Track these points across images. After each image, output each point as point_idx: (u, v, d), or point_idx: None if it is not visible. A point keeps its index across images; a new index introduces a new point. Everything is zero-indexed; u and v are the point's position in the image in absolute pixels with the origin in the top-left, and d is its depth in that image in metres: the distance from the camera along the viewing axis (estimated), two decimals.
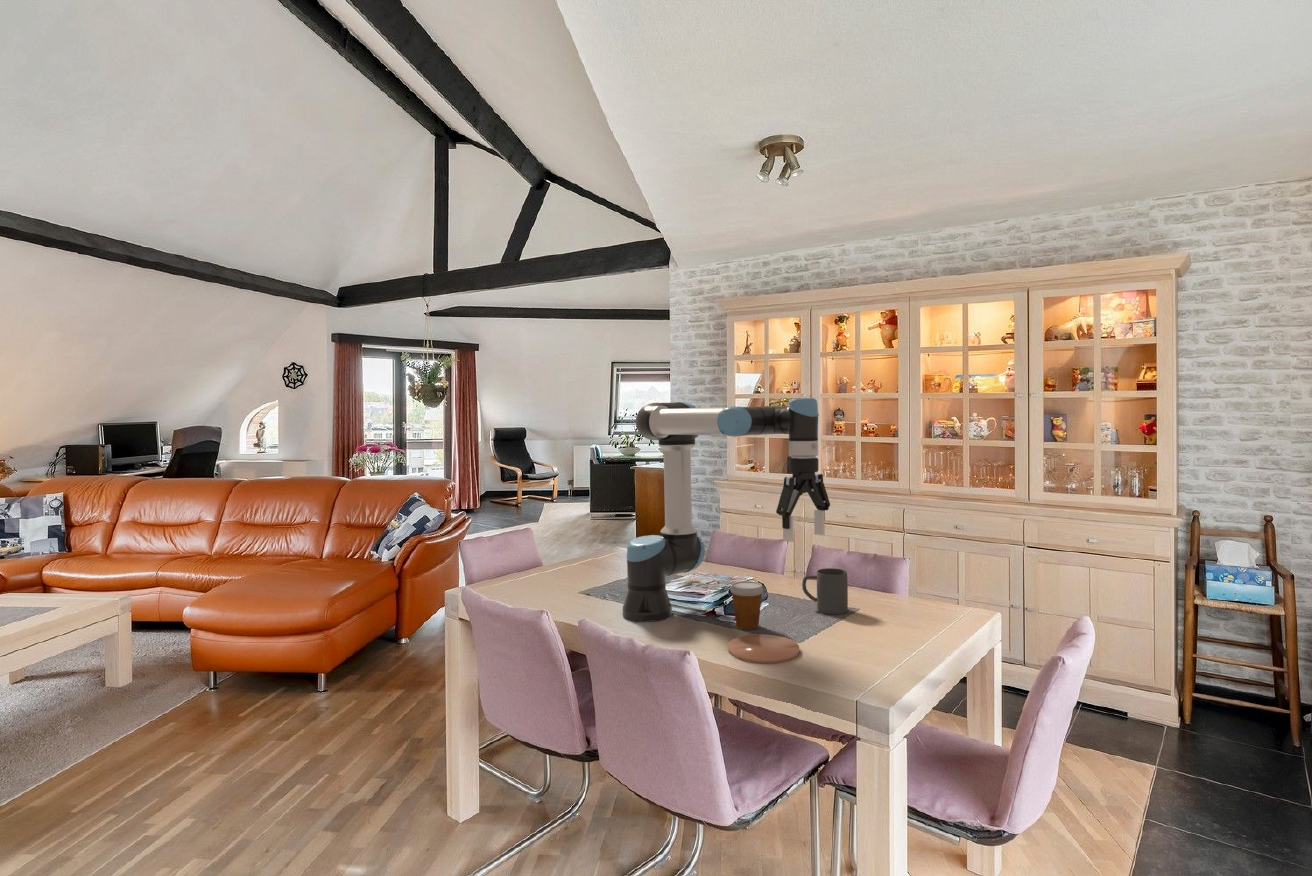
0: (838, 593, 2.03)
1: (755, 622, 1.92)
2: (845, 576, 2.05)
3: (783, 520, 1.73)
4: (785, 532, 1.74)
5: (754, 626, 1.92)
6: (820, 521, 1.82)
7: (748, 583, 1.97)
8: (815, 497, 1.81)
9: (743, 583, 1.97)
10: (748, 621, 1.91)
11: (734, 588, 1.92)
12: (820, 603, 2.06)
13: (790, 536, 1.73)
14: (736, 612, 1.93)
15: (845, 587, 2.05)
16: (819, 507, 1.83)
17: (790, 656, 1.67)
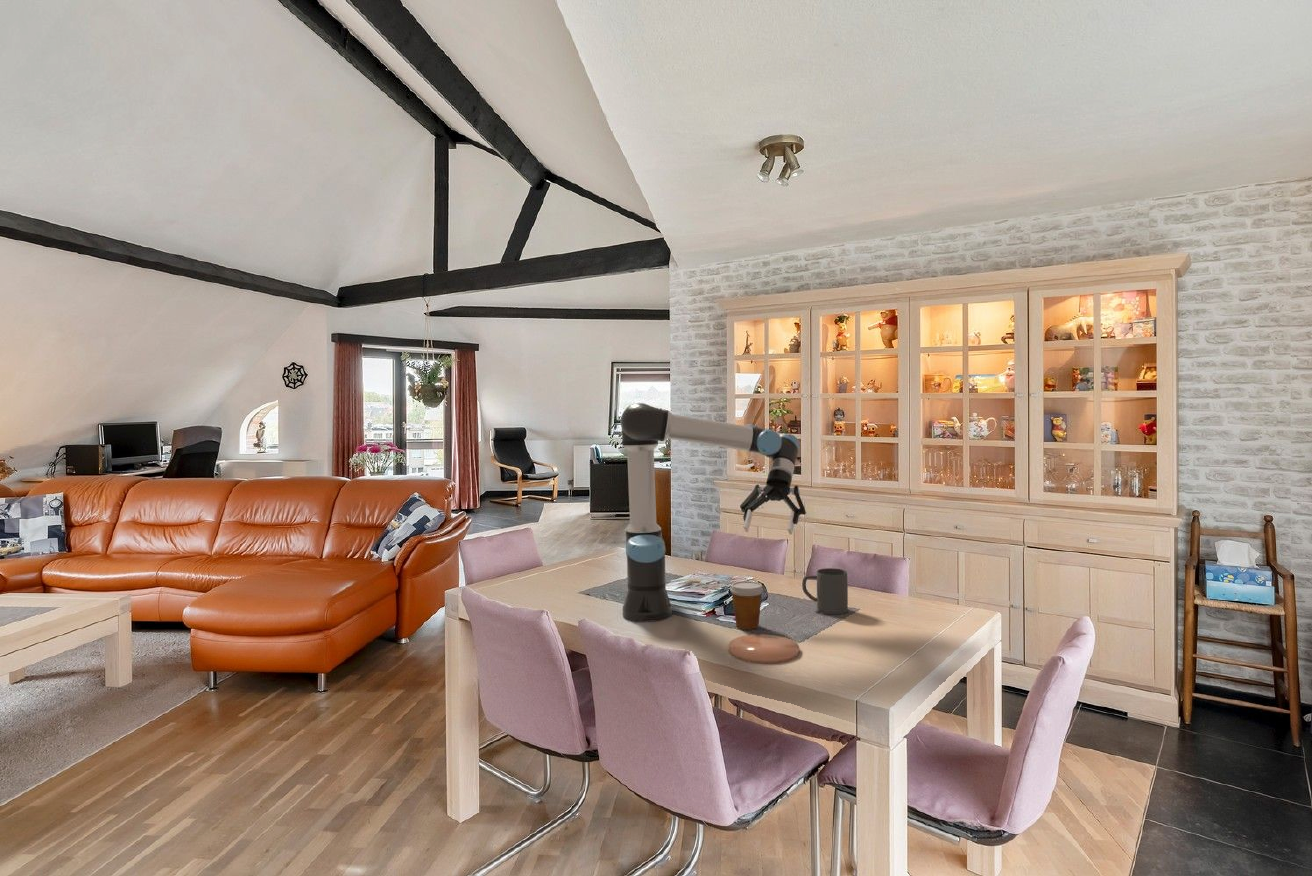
0: (838, 593, 2.03)
1: (755, 622, 1.92)
2: (845, 576, 2.05)
3: (797, 516, 2.03)
4: (792, 524, 2.01)
5: (754, 626, 1.92)
6: (749, 521, 2.09)
7: (748, 583, 1.97)
8: (760, 503, 2.12)
9: (743, 583, 1.97)
10: (748, 621, 1.91)
11: (734, 588, 1.92)
12: (820, 603, 2.06)
13: (792, 529, 2.02)
14: (736, 612, 1.93)
15: (845, 587, 2.05)
16: (749, 509, 2.11)
17: (790, 656, 1.67)
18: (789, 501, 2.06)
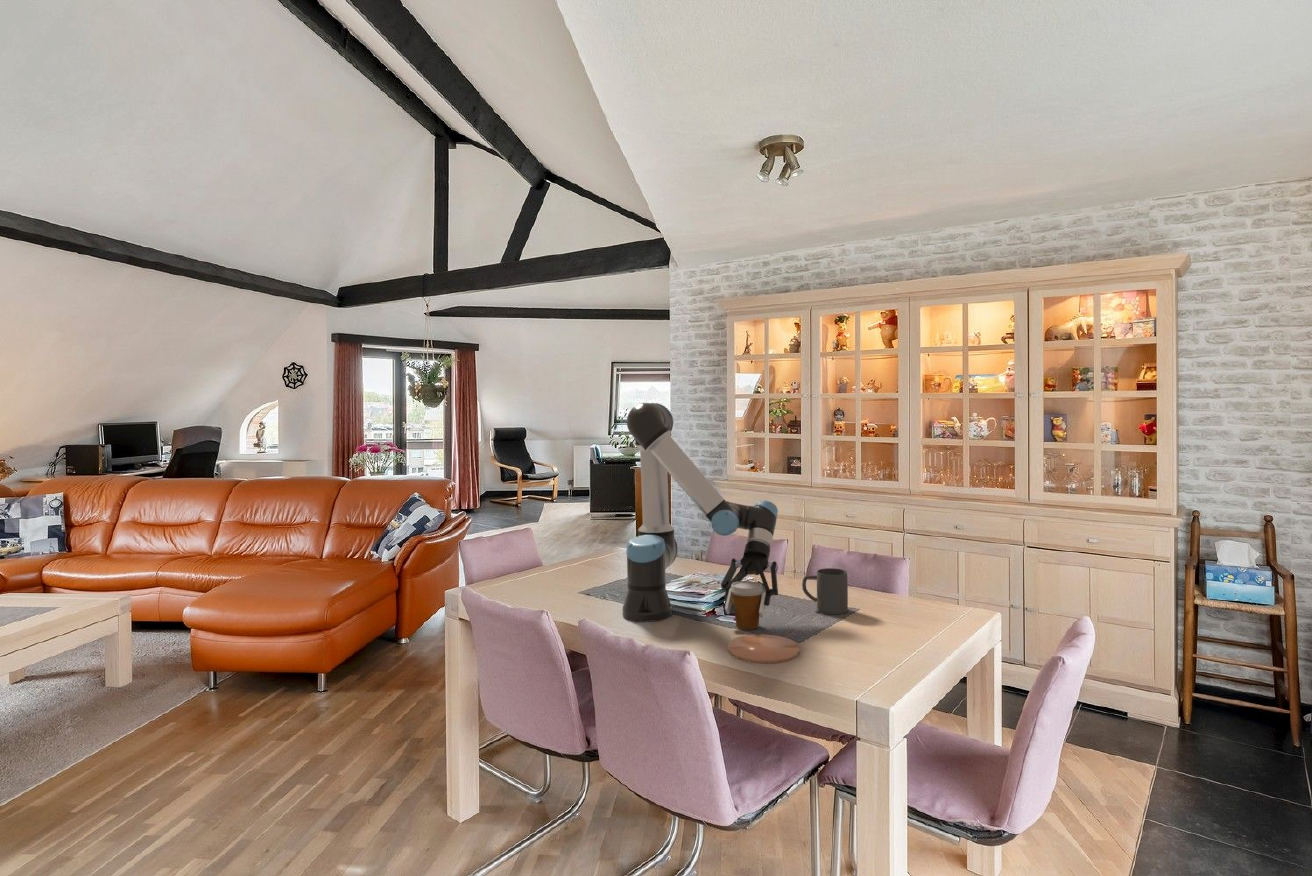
0: (838, 593, 2.03)
1: (755, 622, 1.92)
2: (845, 576, 2.05)
3: (769, 597, 1.92)
4: (763, 606, 1.90)
5: (754, 626, 1.92)
6: (731, 601, 1.96)
7: (748, 583, 1.97)
8: (740, 579, 2.00)
9: (743, 583, 1.97)
10: (748, 621, 1.91)
11: (734, 588, 1.92)
12: (820, 603, 2.06)
13: None
14: (736, 612, 1.93)
15: (845, 587, 2.05)
16: None
17: (790, 656, 1.67)
18: (763, 579, 1.96)
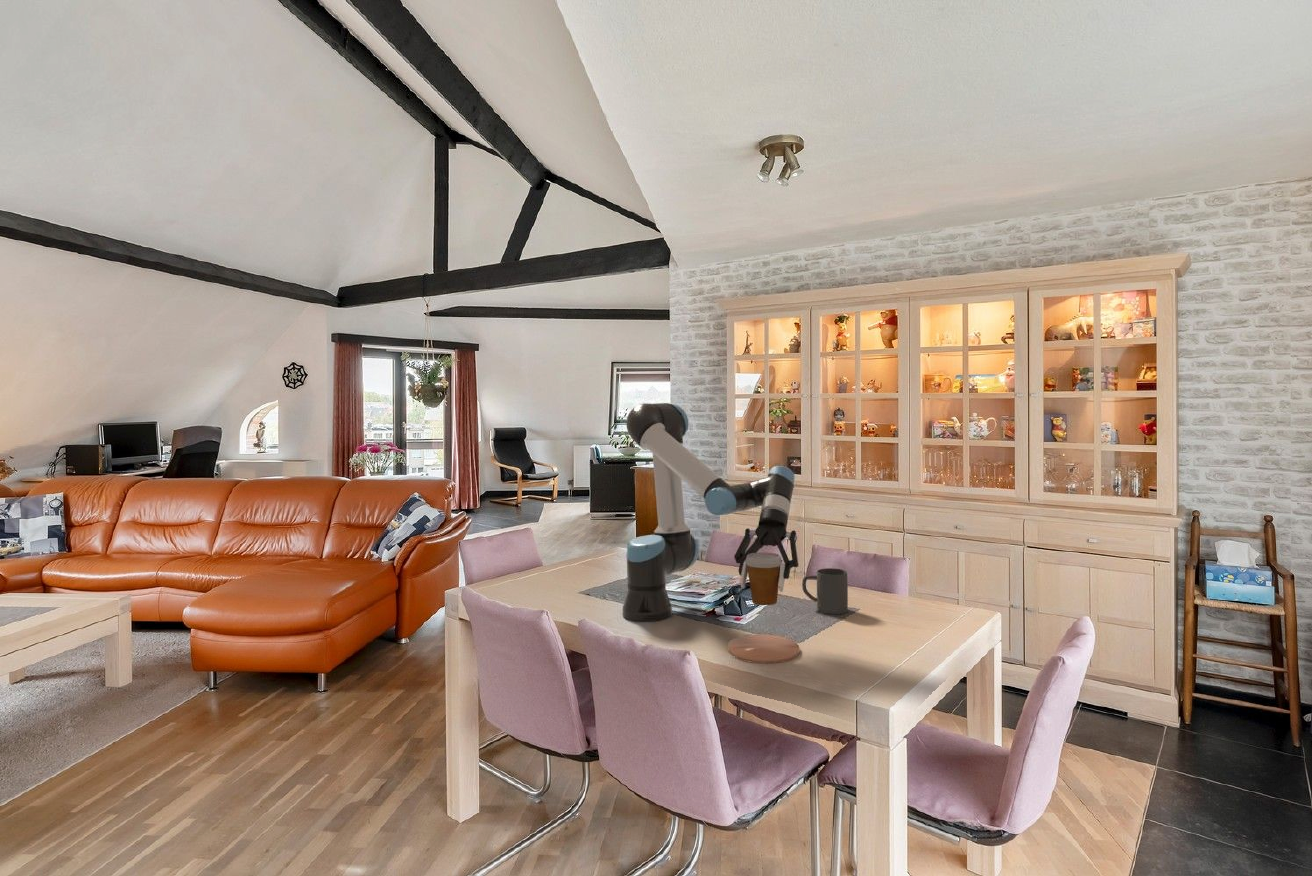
0: (838, 593, 2.03)
1: (773, 597, 1.72)
2: (845, 576, 2.05)
3: (789, 569, 1.72)
4: (782, 579, 1.71)
5: (772, 601, 1.72)
6: (746, 574, 1.76)
7: (765, 554, 1.77)
8: (756, 551, 1.80)
9: (759, 554, 1.77)
10: (766, 596, 1.71)
11: (750, 559, 1.72)
12: (820, 603, 2.06)
13: (783, 586, 1.71)
14: (752, 586, 1.73)
15: (845, 587, 2.05)
16: None
17: (790, 656, 1.67)
18: (782, 549, 1.76)
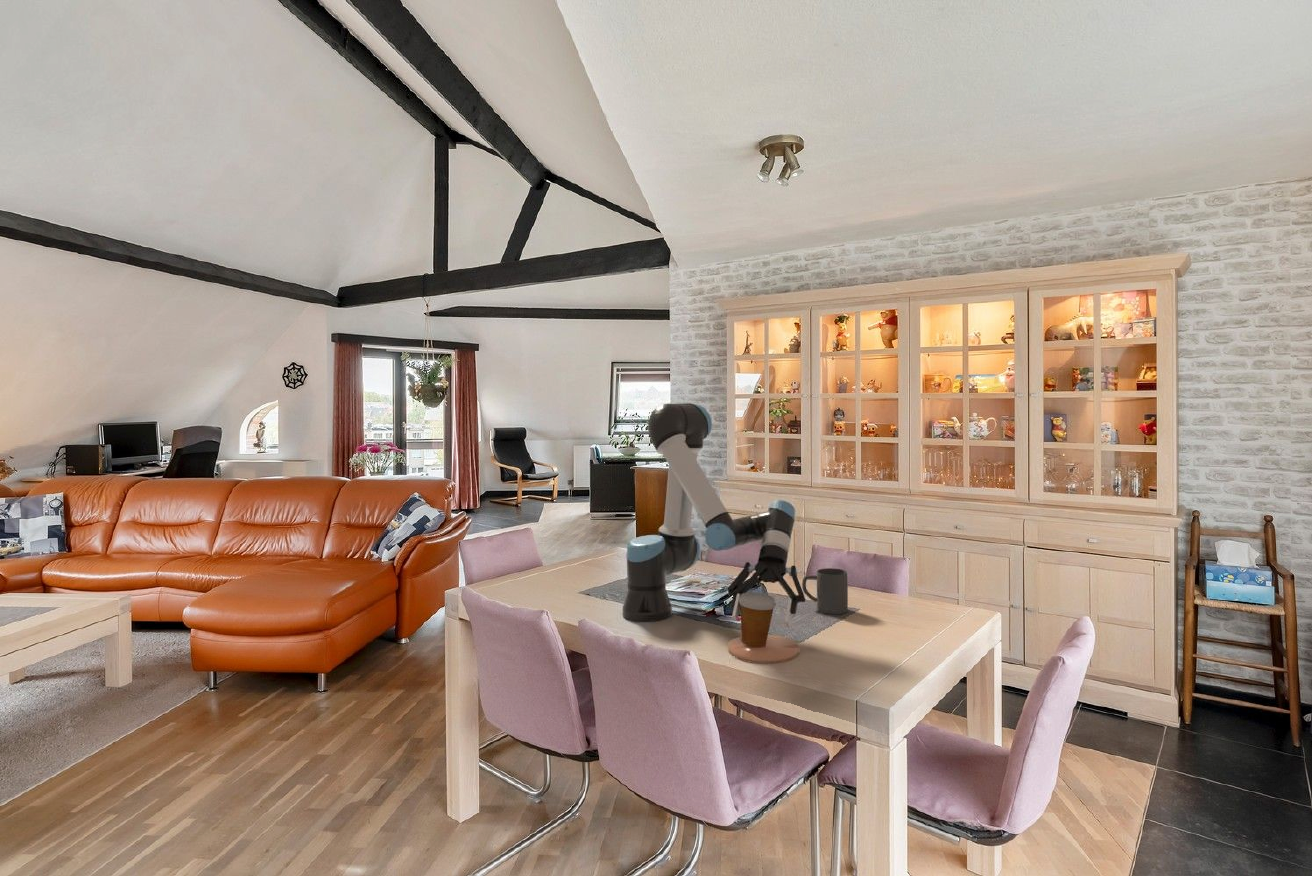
0: (838, 593, 2.03)
1: (763, 640, 1.73)
2: (845, 576, 2.05)
3: (796, 604, 1.72)
4: (789, 614, 1.70)
5: (761, 643, 1.73)
6: (739, 607, 1.77)
7: (759, 595, 1.78)
8: (751, 585, 1.81)
9: (753, 595, 1.78)
10: (756, 638, 1.72)
11: (744, 599, 1.73)
12: (820, 603, 2.06)
13: None
14: (743, 626, 1.74)
15: (845, 587, 2.05)
16: (738, 593, 1.79)
17: (790, 656, 1.67)
18: (785, 585, 1.76)
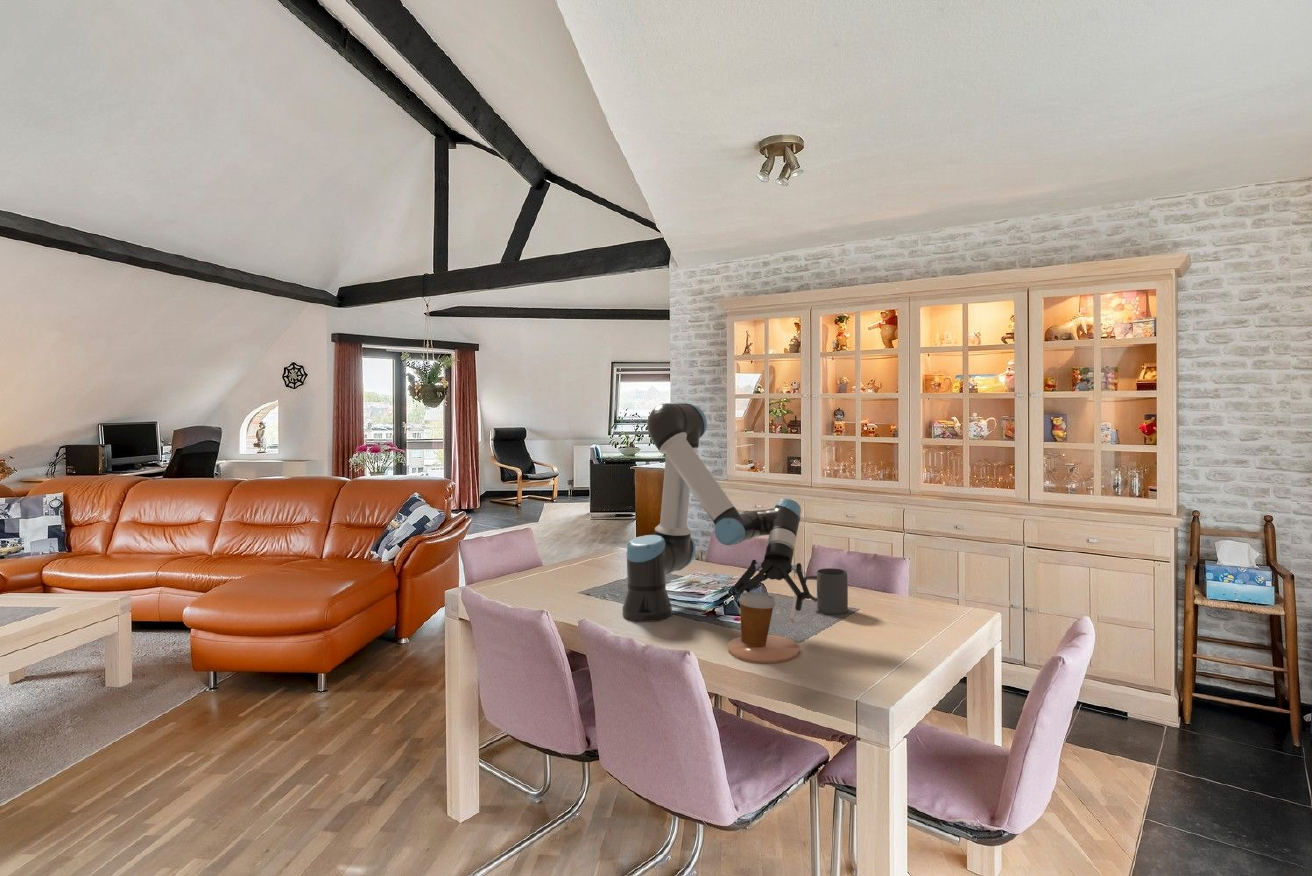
0: (838, 593, 2.03)
1: (762, 639, 1.73)
2: (845, 576, 2.05)
3: (801, 601, 1.76)
4: (794, 611, 1.74)
5: (761, 643, 1.73)
6: None
7: (759, 595, 1.79)
8: (758, 582, 1.85)
9: (753, 595, 1.79)
10: (755, 637, 1.73)
11: (743, 598, 1.74)
12: (820, 603, 2.06)
13: (795, 617, 1.75)
14: (743, 625, 1.74)
15: (845, 587, 2.05)
16: (745, 590, 1.83)
17: (790, 656, 1.67)
18: (791, 582, 1.79)
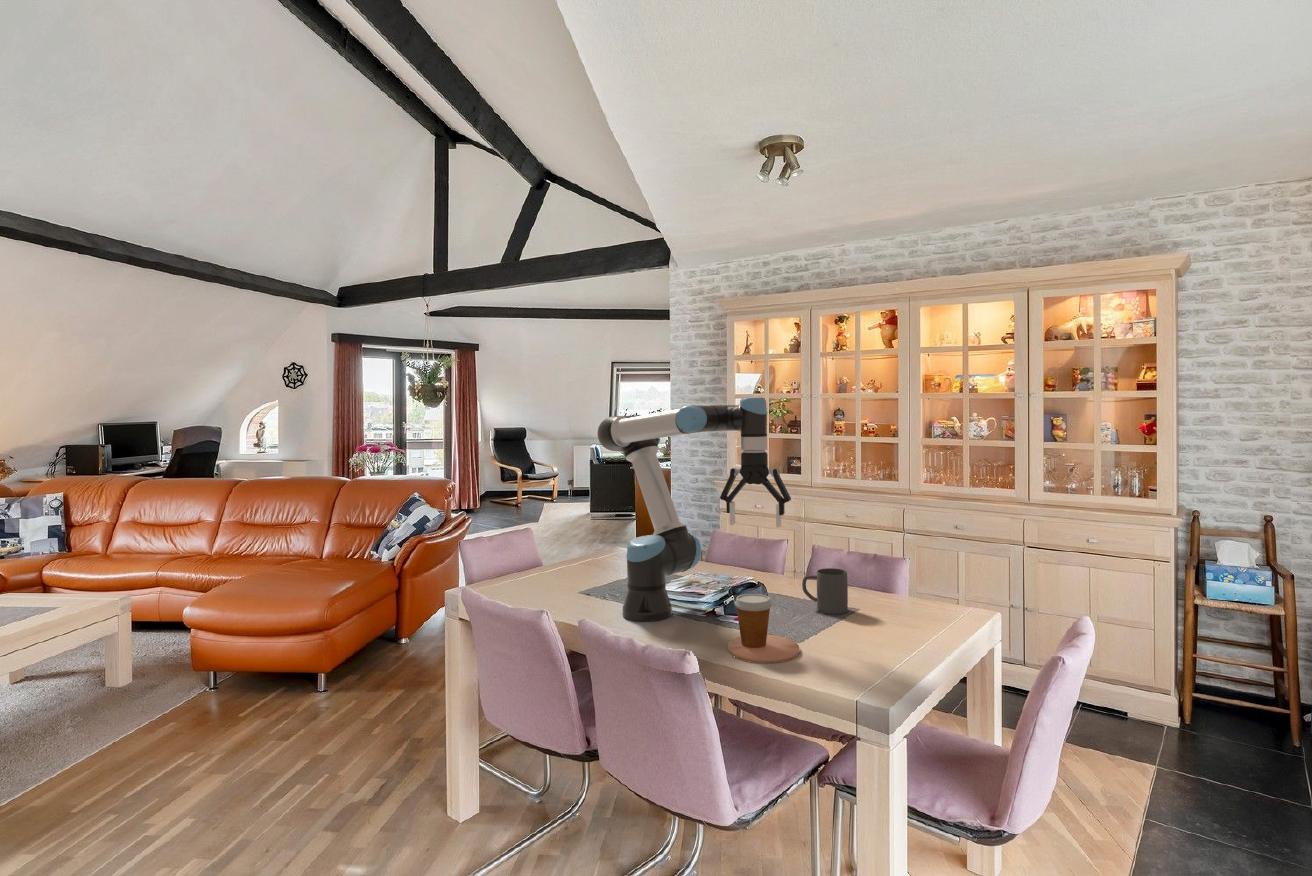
0: (838, 593, 2.03)
1: (762, 640, 1.73)
2: (845, 576, 2.05)
3: (783, 507, 1.91)
4: (779, 518, 1.91)
5: (761, 644, 1.73)
6: (734, 511, 1.98)
7: (755, 596, 1.78)
8: (740, 489, 1.96)
9: (749, 596, 1.78)
10: (754, 639, 1.72)
11: (739, 602, 1.73)
12: (820, 603, 2.06)
13: (780, 520, 1.93)
14: (741, 628, 1.74)
15: (845, 587, 2.05)
16: (730, 499, 1.97)
17: (790, 656, 1.67)
18: (771, 490, 1.91)
